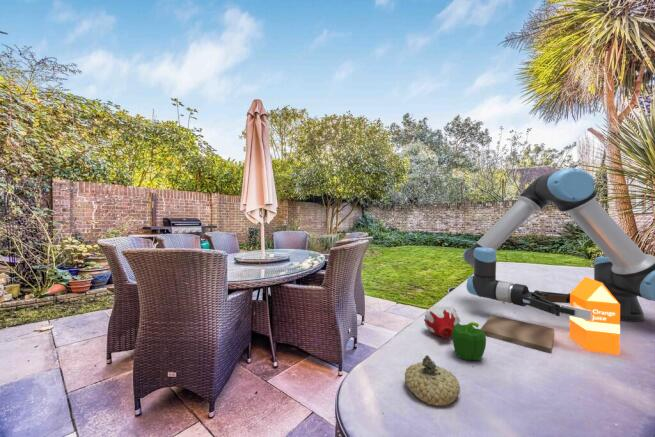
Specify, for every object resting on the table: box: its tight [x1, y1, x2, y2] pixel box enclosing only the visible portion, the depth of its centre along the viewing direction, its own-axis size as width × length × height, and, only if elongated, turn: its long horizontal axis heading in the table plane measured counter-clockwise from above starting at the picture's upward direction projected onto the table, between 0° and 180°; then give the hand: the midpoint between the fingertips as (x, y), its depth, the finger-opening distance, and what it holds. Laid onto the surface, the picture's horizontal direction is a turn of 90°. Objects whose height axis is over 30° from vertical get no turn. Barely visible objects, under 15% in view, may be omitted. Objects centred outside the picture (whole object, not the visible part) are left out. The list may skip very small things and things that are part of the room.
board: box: [480, 314, 555, 354], centre depth 87 cm, size 18×18×2 cm
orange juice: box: [569, 276, 621, 356], centre depth 79 cm, size 8×9×20 cm
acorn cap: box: [404, 355, 461, 407], centre depth 59 cm, size 10×11×10 cm
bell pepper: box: [451, 321, 487, 361], centre depth 73 cm, size 8×8×10 cm
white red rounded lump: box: [423, 304, 461, 339], centre depth 86 cm, size 9×11×15 cm
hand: (595, 310), depth 79 cm, fingers open, 13 cm apart
